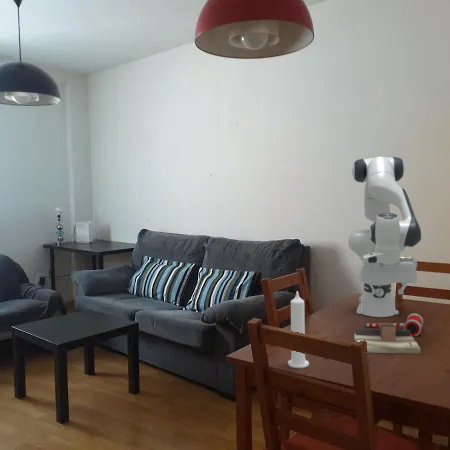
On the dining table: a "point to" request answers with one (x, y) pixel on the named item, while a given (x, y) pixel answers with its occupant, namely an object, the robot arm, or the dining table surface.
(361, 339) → the board
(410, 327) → the toy hammer
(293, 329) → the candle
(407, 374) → the dining table surface
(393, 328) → the brown cardboard brick
